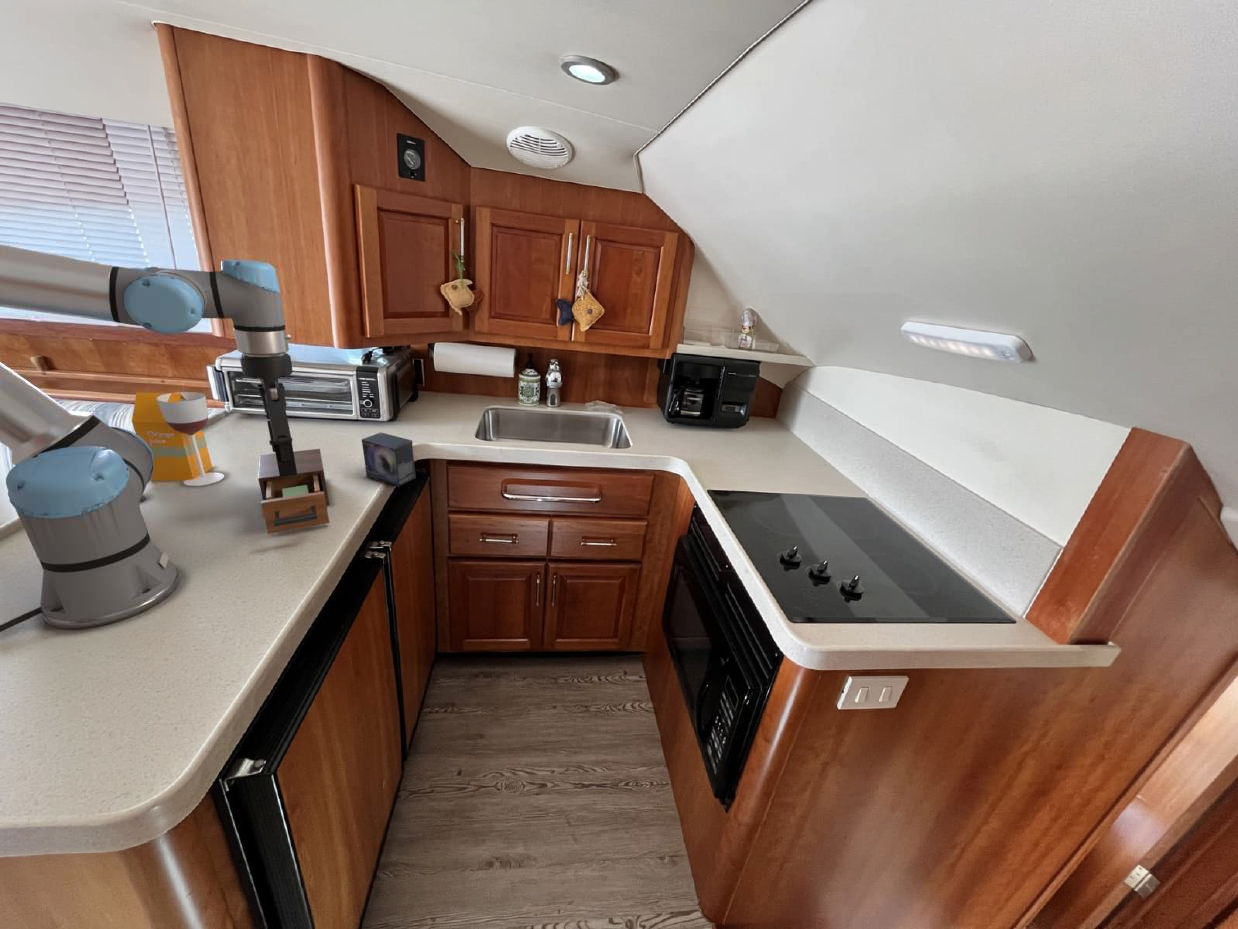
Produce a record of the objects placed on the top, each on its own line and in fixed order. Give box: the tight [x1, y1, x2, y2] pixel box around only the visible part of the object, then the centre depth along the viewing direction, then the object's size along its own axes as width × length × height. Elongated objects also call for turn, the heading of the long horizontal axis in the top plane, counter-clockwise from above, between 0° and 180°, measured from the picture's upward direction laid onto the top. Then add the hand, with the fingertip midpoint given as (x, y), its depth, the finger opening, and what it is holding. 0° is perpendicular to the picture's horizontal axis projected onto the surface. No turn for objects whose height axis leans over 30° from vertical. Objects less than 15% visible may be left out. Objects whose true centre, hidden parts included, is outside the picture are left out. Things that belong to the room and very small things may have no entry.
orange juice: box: [131, 391, 213, 482], centre depth 113 cm, size 8×9×20 cm
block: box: [282, 485, 309, 497], centre depth 102 cm, size 4×4×4 cm
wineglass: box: [157, 391, 225, 487], centre depth 112 cm, size 8×9×20 cm
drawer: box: [260, 474, 330, 535], centre depth 99 cm, size 17×10×7 cm, turn 32°
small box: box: [361, 431, 417, 487], centre depth 122 cm, size 11×6×10 cm, turn 68°
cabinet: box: [257, 448, 330, 507], centre depth 110 cm, size 14×12×9 cm
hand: (284, 462), depth 96 cm, fingers open, 13 cm apart
